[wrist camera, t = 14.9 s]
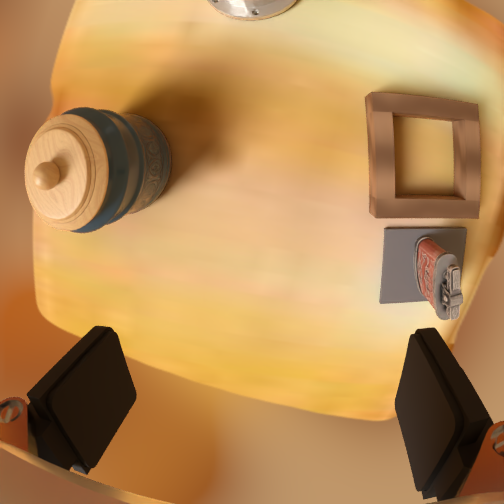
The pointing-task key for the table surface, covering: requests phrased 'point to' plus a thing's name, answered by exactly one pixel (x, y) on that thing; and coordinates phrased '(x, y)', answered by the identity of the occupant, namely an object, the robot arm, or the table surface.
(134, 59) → the table surface
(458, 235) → the charcoal mat
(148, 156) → the canister
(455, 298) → the lighter
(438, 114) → the frame
